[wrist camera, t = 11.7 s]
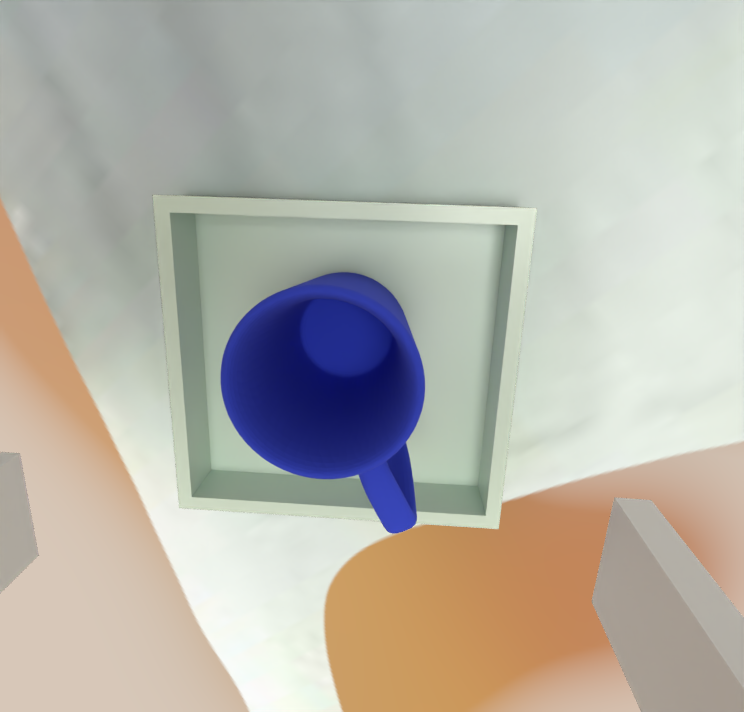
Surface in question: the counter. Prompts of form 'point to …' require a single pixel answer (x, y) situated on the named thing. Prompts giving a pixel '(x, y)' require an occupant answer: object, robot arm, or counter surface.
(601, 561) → the robot arm
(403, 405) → the mug
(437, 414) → the tray
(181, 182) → the counter surface
